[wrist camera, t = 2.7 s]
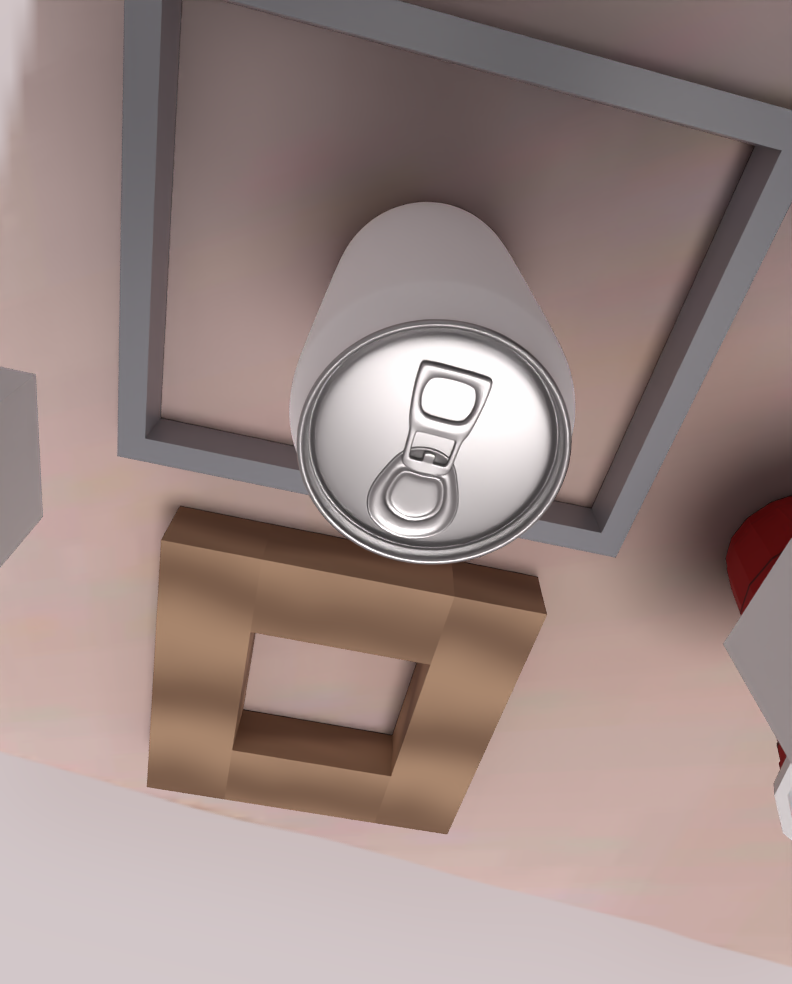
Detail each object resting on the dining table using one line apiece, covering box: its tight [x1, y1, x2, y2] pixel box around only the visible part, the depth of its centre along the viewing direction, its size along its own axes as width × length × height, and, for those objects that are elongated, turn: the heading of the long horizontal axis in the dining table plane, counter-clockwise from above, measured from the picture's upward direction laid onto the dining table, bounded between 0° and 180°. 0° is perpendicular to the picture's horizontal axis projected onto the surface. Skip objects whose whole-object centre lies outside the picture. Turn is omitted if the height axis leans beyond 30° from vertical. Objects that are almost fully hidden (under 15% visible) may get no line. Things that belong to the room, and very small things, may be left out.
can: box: [289, 202, 575, 564], centre depth 19 cm, size 6×6×12 cm
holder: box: [147, 506, 547, 834], centre depth 33 cm, size 16×16×2 cm
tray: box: [117, 0, 792, 558], centre depth 23 cm, size 16×20×2 cm
